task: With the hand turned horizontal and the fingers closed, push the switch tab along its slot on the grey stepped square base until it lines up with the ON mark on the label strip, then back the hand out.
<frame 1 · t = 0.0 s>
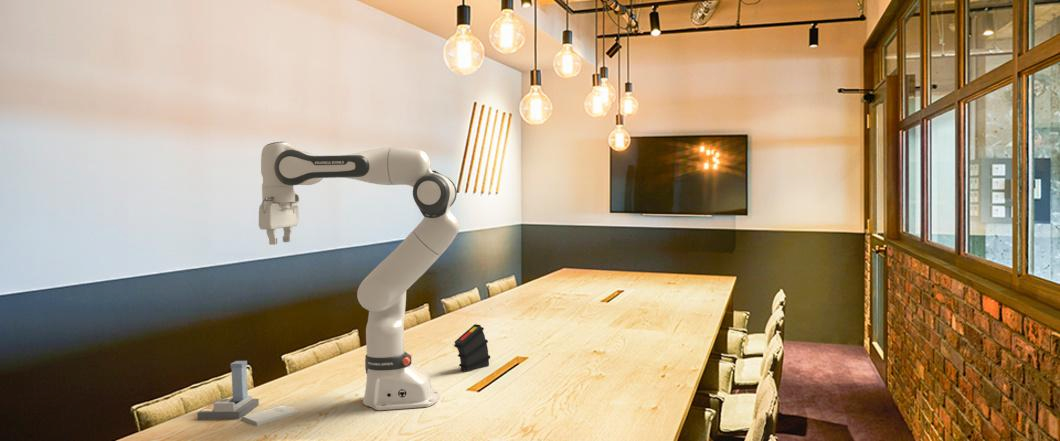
hand: (280, 243, 200), 48 cm above the table, tool pointing down, fingers open, 8 cm apart
grey stepped square base: (229, 412, 193), on the table
magazine: (472, 369, 234), on the table
switch tab: (239, 381, 197), point 8 cm above the table, slide at 0.0 cm
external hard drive: (270, 419, 189), on the table
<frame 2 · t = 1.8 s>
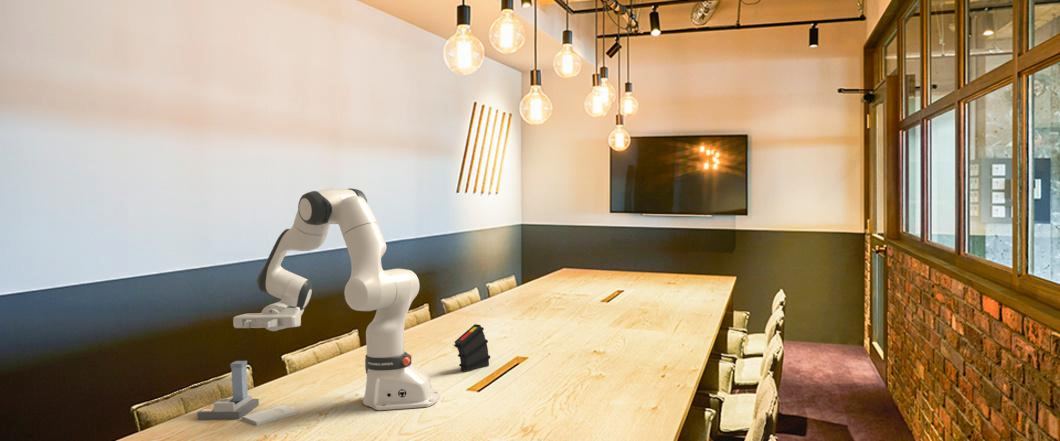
hand: (256, 325, 208), 22 cm above the table, tool horizontal, fingers open, 5 cm apart
nothing on the table moved.
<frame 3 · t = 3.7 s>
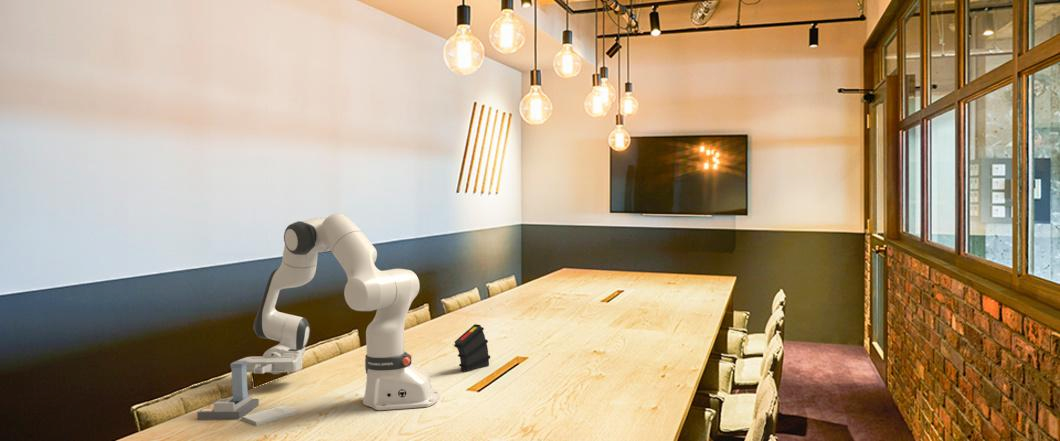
hand: (257, 371, 209), 8 cm above the table, tool horizontal, fingers closed
nothing on the table moved.
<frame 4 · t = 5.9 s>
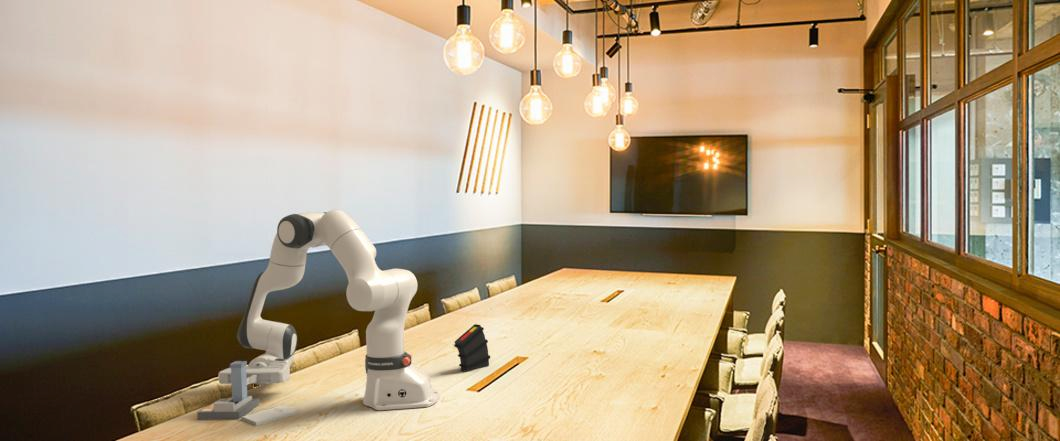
hand: (241, 382, 198), 7 cm above the table, tool horizontal, fingers closed, pressing on switch tab
switch tab: (239, 381, 197), point 8 cm above the table, slide at 0.3 cm, touching gripper
everything else where it was.
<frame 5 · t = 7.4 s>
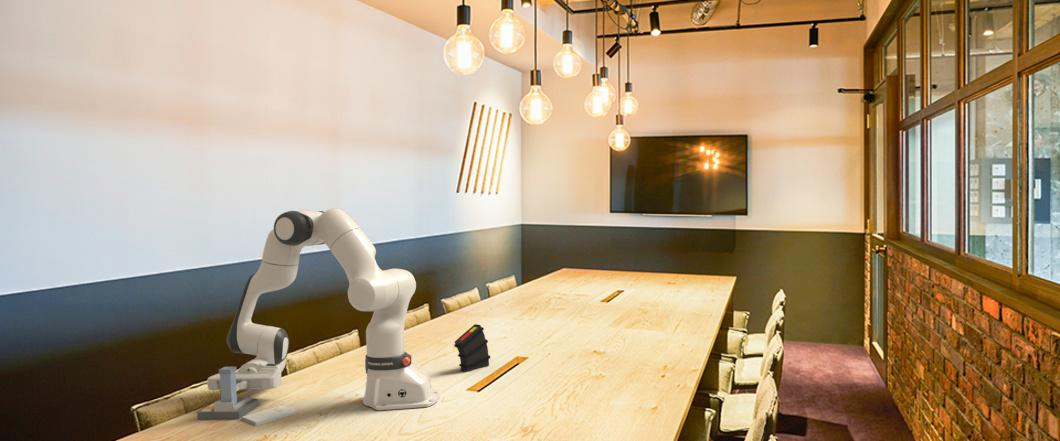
hand: (231, 388, 192), 7 cm above the table, tool horizontal, fingers closed, pressing on switch tab
switch tab: (228, 387, 190), point 8 cm above the table, slide at 6.6 cm, touching gripper
everything else where it was.
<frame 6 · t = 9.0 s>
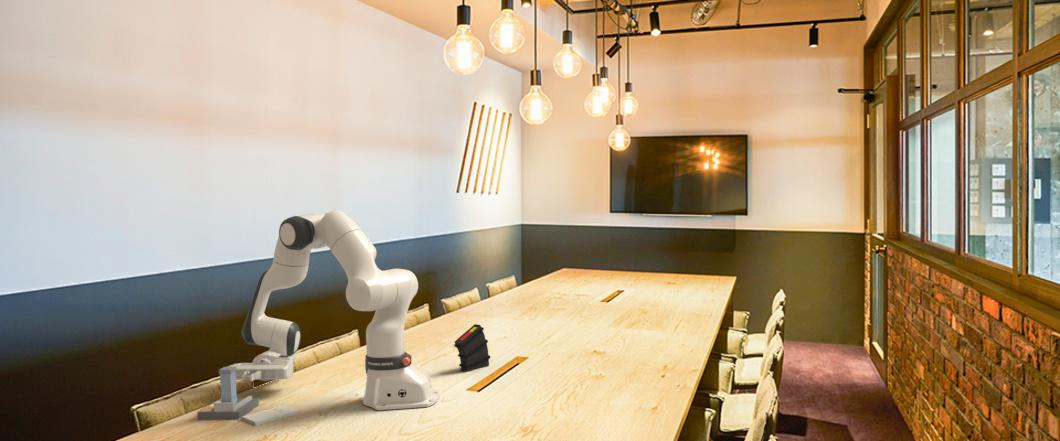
hand: (246, 378, 202), 7 cm above the table, tool horizontal, fingers closed
switch tab: (228, 387, 190), point 8 cm above the table, slide at 6.6 cm
everything else where it was.
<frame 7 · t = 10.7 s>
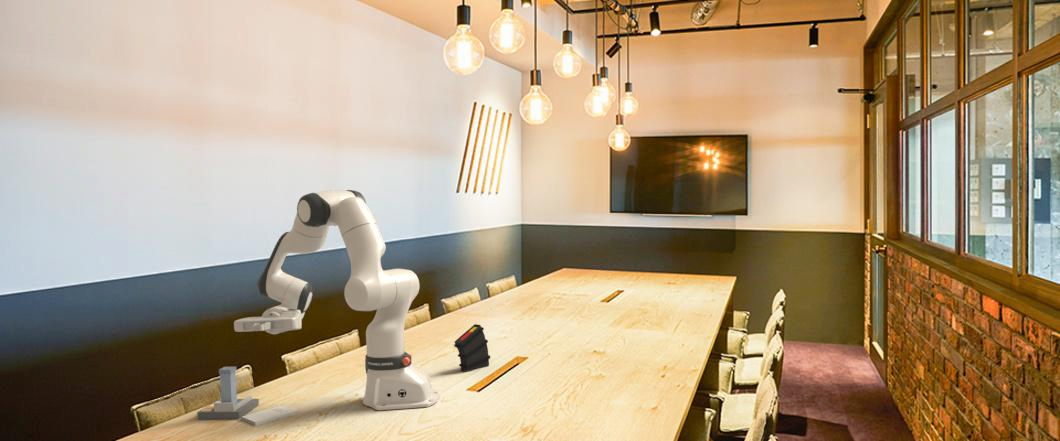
hand: (256, 328, 208), 21 cm above the table, tool horizontal, fingers closed
nothing on the table moved.
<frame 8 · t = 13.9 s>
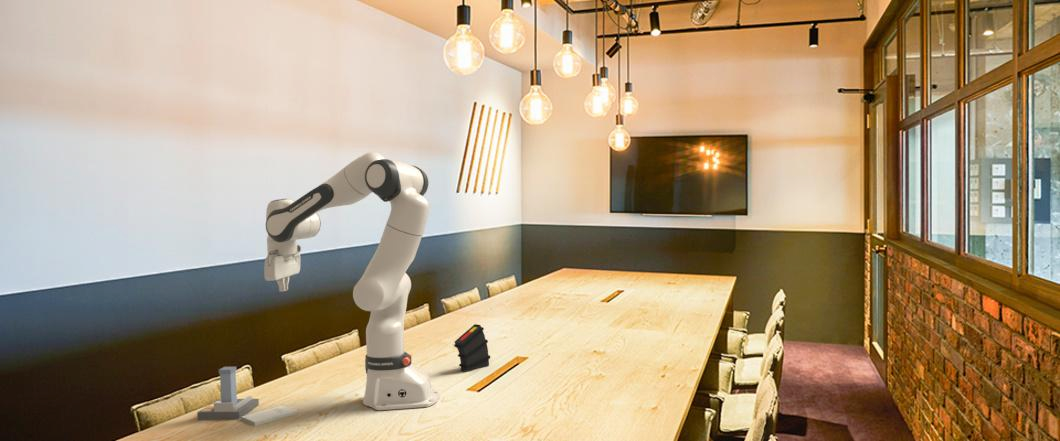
hand: (283, 291, 219), 31 cm above the table, tool pointing down, fingers closed
nothing on the table moved.
at the end: switch tab slide at 6.6 cm; switch tab 0.3 cm from the target spot on the grey stepped square base, point 7.9 cm above the grey stepped square base's base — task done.
